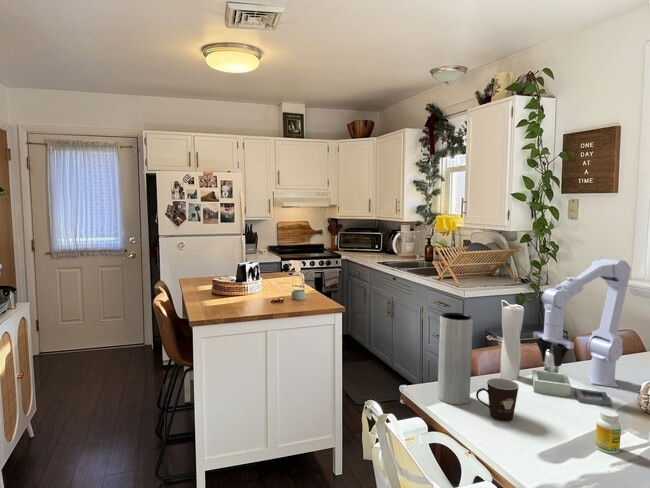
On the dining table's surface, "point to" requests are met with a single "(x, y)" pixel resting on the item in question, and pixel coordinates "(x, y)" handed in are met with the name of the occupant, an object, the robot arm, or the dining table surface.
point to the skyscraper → (511, 341)
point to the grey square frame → (603, 402)
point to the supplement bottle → (608, 432)
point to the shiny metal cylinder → (550, 361)
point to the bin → (551, 383)
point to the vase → (455, 358)
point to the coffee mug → (501, 398)
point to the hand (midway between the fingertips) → (551, 363)
